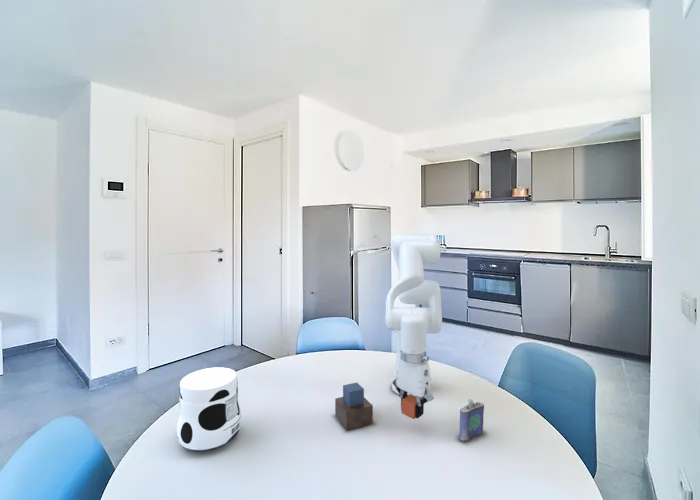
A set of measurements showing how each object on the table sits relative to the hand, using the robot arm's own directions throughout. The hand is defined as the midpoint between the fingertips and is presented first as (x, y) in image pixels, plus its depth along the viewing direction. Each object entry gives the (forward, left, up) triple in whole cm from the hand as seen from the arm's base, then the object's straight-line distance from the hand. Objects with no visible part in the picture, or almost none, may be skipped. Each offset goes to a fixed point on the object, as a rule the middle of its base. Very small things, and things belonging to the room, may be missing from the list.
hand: (411, 412), depth 104 cm
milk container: (+56, -20, -5) cm, 60 cm away
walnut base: (+14, -11, -5) cm, 19 cm away
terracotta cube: (0, 0, 0) cm, 0 cm away
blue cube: (+15, -11, +1) cm, 18 cm away
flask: (-14, +11, -5) cm, 18 cm away
